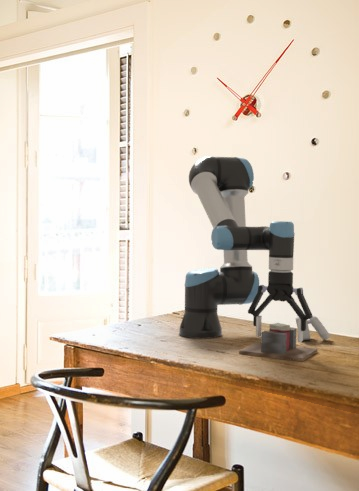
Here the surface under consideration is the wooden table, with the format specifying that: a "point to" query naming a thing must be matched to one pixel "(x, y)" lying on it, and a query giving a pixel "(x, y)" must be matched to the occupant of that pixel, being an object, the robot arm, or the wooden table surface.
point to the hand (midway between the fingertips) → (278, 339)
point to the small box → (281, 331)
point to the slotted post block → (279, 347)
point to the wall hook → (317, 327)
